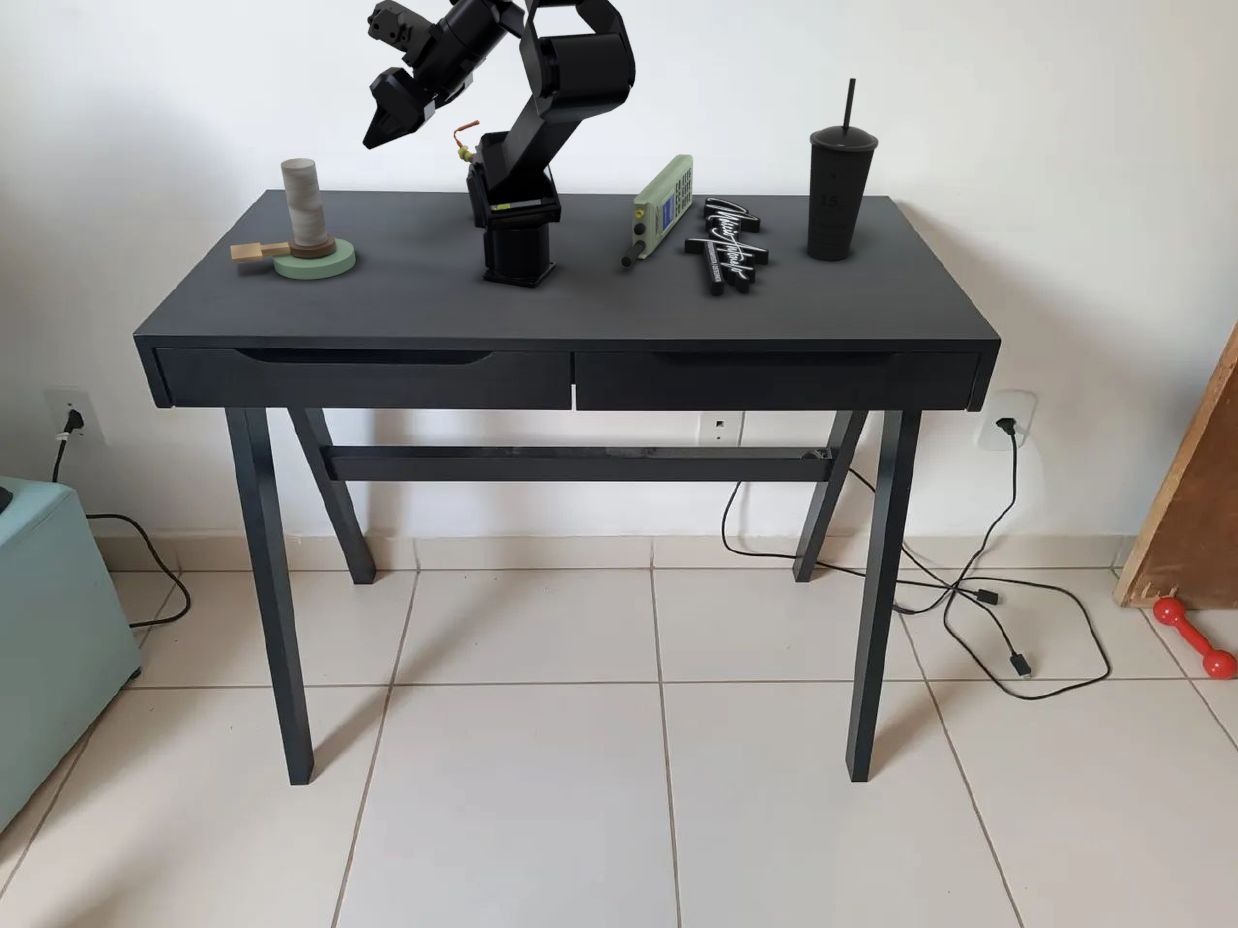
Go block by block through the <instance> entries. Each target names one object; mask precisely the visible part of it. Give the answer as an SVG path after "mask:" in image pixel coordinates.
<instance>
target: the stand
mask: <svg viewBox="0 0 1238 928" xmlns="http://www.w3.org/2000/svg"><path fill="white" fill-rule="evenodd" d="M334 238H335V241H336V249H335V250H334V251H333V252H332V253H330V254H327V255H324V256H320V257H311V258H305V257H297V256H294V255H292V254H291V253H286V254H278V255H271V256H272V261H273V266H274V270H275V272H276V273H277V274H278V275H280V276H283V277H285V278H289V279H292V280H293V279H294V280H302V281H303V280H304V281H305V280H307V281H309V280H321V279H326V278H327V279H328V278H331V277H335V276H338V275H341V274H344V273H346V272H347V271H349V270H351V269H352V268H353V267H354V266H355V264H356V254H355V247H354V245H353V244H352V243H351V242H349V241H348V240H345V239H341V238H338V237H337V238H336V237H334Z"/></svg>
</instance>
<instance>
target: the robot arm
mask: <svg viewBox="0 0 1238 928" xmlns="http://www.w3.org/2000/svg"><path fill="white" fill-rule="evenodd" d="M448 1H449V3H450V5H451V6H452V7H451V8H450V10H449V11H448V12H447V13H446V14H445V15H444V17H441V18H440V19H439V20H438V21H437V22H436V23H435V22H431V21H430V20H428V19H427V18H426V17H424V16H423V15H421V14H419V13H417V12H415V11H413V10H412V9H410V8H408V7H407V6H404V5H403V4H401V3H399V2H397V1H395V0H382V1H380V2H377V3H376V4H375V6H374V8H373V11H372V13H371V15H369V16H368V17H367V19H366V22H367V23H368V25H369V26H368V30H367V35H368V36H369V37H370V38H372V39H373V40H375V41H380V42H382V43H385V44H386V45H388V46H390V47H392V48H394V49H395V50H398V51H399V52H401V53H404V55H403V56H402V57H401V61H402V62H403V63H404V64H405V65H406V66H407V67H408V68H411V69H412V71H411V73H412V75H411V74H410V73H409V72H408V71H407V70H406V69H405V67H401V66H390V67H388V68H387V69H385V70H383V71H382V72H381V73H379V74H378V75H377V76H376V78H375V79H374V80H373V81H372V83H370V85H369V86H368V87H369V91H370V93H371V96H372V97H373V99H374V100H375V104H376V109H375V112H374V114H373V117H372V119H371V121H370V123H369V126H368V128H367V131H366V132H365V134H364V137H363V140H361V141H362V145H363V146H364V147H365V148H366V149H367V150H369V151H371V150H373V149H376V148H378V147H380V146H381V147H382V146H383V145H385V144H388V143H391V142H393V141H395V140H398V139H401V138H403V137H406V136H409V135H413V134H415V133H417V132H418V130H420V129H422V128H423V127H424V126H425V125H426V124H427V123H428V121H429V120H431V119H432V117H433V116H434V115H435V114H436V110H438V109H441V108H443V107H445V106H447V105H449V104H451V103H452V102H453V101H455V100H456V99H457V98H459V97H460V96H461V95H463V94H464V93H465V92H466V91H467V89H469V88H470V86H471V85H472V84H473V83H474V72H475V70H477V69H478V68H479V67H480V66H482V65H483V63H485V61H486V60H487V57H488V56H489V55H490V53H492V52H493V50H494V49H495V48H496V47H497V46H498V45H499V43H500V42H501V41H502V40H503V39H504V38H505V37H506V36H507V35H508V34H510V35H512V36H513V37H515V38H517V39H518V40H519V44H518V50H519V54H520V57H521V61H522V63H523V64H522V65H523V67H524V71H525V75H526V79H527V81H528V85H529V89H530V92H531V95H530V97H529V98H528V100H527V102H526V103H525V105H524V107H523V108H522V109H521V112H520V113H519V115H518V116H517V118H516V120H515V121H514V123H513V125H512V127H511V128H510V130H502V131H492V132H485V133H484V134H483V135H481V136H480V138H479V142H478V144H477V145H475V146H474V149H475V152H474V153H475V155H474V157H473V162H472V164H471V163H469V165H468V172H467V175H466V176H467V177H466V178H465V182H466V187H467V191H468V195H469V199H470V204H471V209H472V215H473V226H474V227H475V228H476V229H477V228H478V229H483V230H485V232H483V233H482V242H483V256H484V266H485V268H486V270H485V271H484V272H483V273H482V279H483V280H487V281H493V282H499V283H505V284H511V285H519V286H524V287H530V288H534V287H537V286H538V285H539V284H540V283H541V282H542V281H544V279H545V278H546V277H547V276H548V275H549V274H550V273H551V272H552V271H553V270H554V269H555V268H556V266H557V264H556V261H551V257H550V256H551V255H550V254H551V253H550V224H552V223H553V224H558V223H561V215H562V203H561V201H560V196H559V193H558V191H557V187H556V183H555V179H554V177H553V173H552V170H551V166H550V163H551V162H552V161H553V159H554V158H555V157H556V155H557V154H558V153H559V151H560V150H561V149H562V148H563V146H564V145H565V144H566V143H567V141H568V140H569V138H570V137H572V135H573V134H574V133H575V132H576V129H577V128H578V127H579V126H580V125H581V123H582V122H583V121H584V120H587V119H591V118H593V117H597V116H601V115H604V114H607V113H610V112H612V111H614V110H616V109H617V108H619V107H620V106H622V105H624V104H625V103H626V102H627V100H628V99H629V96H630V94H631V91H632V89H633V88H634V86H635V83H636V75H637V69H636V67H637V65H636V60H635V55H634V52H633V49H632V45H631V41H630V39H629V35H628V32H627V29H626V26H625V22H624V19H623V16H622V14H621V12H620V11H619V10H618V9H617V7H615V6H614V5H613V3H611V2H610V0H524V5H525V8H526V10H527V18H526V21H525V15H526V10H525V9H524V8H522V7H521V6H519V5H518V4H517V3H515V2H514V1H513V0H448ZM564 7H575V11H576V13H577V15H578V16H579V17H580V18H581V19H582V20H583V21H584V23H586V24H587V25H588V27H589V28H590V29H591V30H592V31H593V32H592V33H591V32H590V33H578V34H577V33H576V34H574V33H573V34H562V35H561V34H559V35H545V36H540V37H539V35H538V32H537V29H536V26H535V23H534V22H535V21H534V19H535V17H536V13H537V10H538V9H547V8H549V9H550V8H564ZM532 201H533V202H534V201H539V202H540V203H538V204H530V205H523V206H514V207H510V208H506V209H498V210H491V209H490V206H492V207H494V206H498V205H503V204H509V205H510V204H519V203H526V202H532Z"/></svg>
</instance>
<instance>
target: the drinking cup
mask: <svg viewBox="0 0 1238 928" xmlns="http://www.w3.org/2000/svg"><path fill="white" fill-rule="evenodd" d="M856 82H857V78H856V77H855V78H854V77H850V78H849V81H848V87H847V95H846V102H845V108H844V114H843V115H844V116H843V123H842V125H832V126H828V127H825V128H823V129H821V130H817V131H814V132H812V133H811V134H810V135H809V139H808V140H809V143H810V145H811V147H810V149H811V150H810V169H809V171H810V173H809V197H808V198H809V199H808V221H807V245H806V246H807V247H806V248H807V249H806V252H807V254H808V255H809V256H810V257H811V258H814V259H817V260H820V261H827V262H836V261H837V262H838V261H842V260H844V259H846V258H848V256H849V251H850V248H851V245H852V240H853V237H854V232H855V228H856V223H857V220H858V216H859V212H860V209H861V204H862V200H863V196H864V193H865V190H866V189H865V188H866V185H867V182H868V177H869V173H870V169H871V165H872V161H873V158H874V154H875V150H876V149H877V148H878V147H879V139H878V138H877V137H876V136H875V135H872V134H871V133H868V132H867V131H866V130H864V129H862V128H859V127H856V126H851V125H850V123H851V116H852V108H853V102H854V97H855V96H854V95H855V90H856Z"/></svg>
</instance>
